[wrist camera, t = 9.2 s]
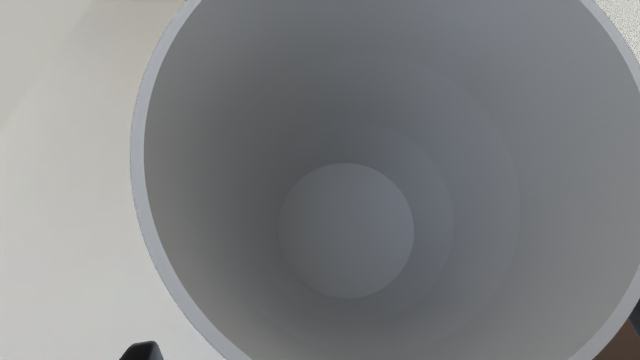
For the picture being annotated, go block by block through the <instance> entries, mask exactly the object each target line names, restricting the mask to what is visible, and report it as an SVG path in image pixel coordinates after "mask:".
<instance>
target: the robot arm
mask: <svg viewBox="0 0 640 360" xmlns="http://www.w3.org/2000/svg"><path fill="white" fill-rule="evenodd" d="M628 320H629V321H630V323H631V325H632V326H633V328H634V330H635V332H636V333H637V335H638V337H639V338H640V298H639V300H638V302H637V304H636V306H635V307H634V309H633V311H632V312H631V314H630V315H629V317H628ZM119 360H163V357H162V354H161V352H160V349H159V347H158V345H157V343H156V342H155V341H147V342H141V343H135V344H132V345H131V346H130V347H129V348H128V349H127V350H126V352H125V353H124V354H123V355H122V357H121V358H120V359H119Z"/></svg>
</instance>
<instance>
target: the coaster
mask: <svg viewBox="0 0 640 360" xmlns="http://www.w3.org/2000/svg"><path fill="white" fill-rule="evenodd" d="M592 360H640V338H639V337H638V335H637V333H636V332H635V330H634V328H633V326H632V325H631V323H630V321H629V320H628V318H627V320H626V321H625V323H624V324H623V325H622V327H621V328H620V329H619V331H618V332H617V333H616V335H615V336H614V337H613V338H612V339H611V341H610V342H609V343H608V344H607V345H606V346H605V347H604V348H603V349H602V350H601V351H600V352H599V353H598V354H597V355H596V356H595V357H594V358H593V359H592Z"/></svg>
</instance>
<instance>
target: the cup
mask: <svg viewBox="0 0 640 360" xmlns="http://www.w3.org/2000/svg"><path fill="white" fill-rule="evenodd" d="M130 174H131V184H132V192H133V198H134V204H135V209H136V213H137V218H138V221H139V225H140V229H141V232H142V235H143V238H144V241H145V244H146V246H147V249H148V251H149V254H150V256H151V259H152V261H153V263H154V265H155V268H156V270H157V271H158V273H159V275H160V277H161V279H162V281H163V283H164V285H165V286H166V288H167V290H168V291H169V293H170V295H171V296H172V298H173V299H174V301H175V302H176V304H177V305H178V307H179V308H180V309H181V311H182V312H183V314H184V315H185V316H186V318H187V319H188V320H189V321H190V322H191V324H192V325H193V326H194V327H195V329H196V330H197V331H198V332H199V333H200V334H201V335H202V336H203V337H204V338H205V340H206V341H207V342H209V343H210V344H211V345H212V346H213V347H214V348H215V349H216V350H217V351H218V352H219V353H220V354H221V355H222V356H223V357H224V358H226V359H227V360H592V359H593V358H594V357H595V356H596V355H597V354H598V353H599V352H600V351H601V350H602V349H603V348H604V347H605V346H606V345H607V344H608V343H609V342H610V341H611V339H612V338H613V337H614V336H615V335H616V333H617V332H618V331H619V329H620V328H621V327H622V325H623V324H624V323H625V321H626V320H627V318H628V317H629V315H630V314H631V312H632V311H633V309H634V307H635V306H636V304H637V302H638V300H639V298H640V65H639V63H638V61H637V59H636V57H635V56H634V54H633V52H632V50H631V49H630V47H629V45H628V44H627V42H626V41H625V39H624V38H623V36H622V35H621V33H620V32H619V30H618V29H617V28H616V26H615V25H614V24H613V22H612V21H611V20H610V19H609V17H608V16H607V15H606V14H605V13H604V11H603V10H602V9H601V8H600V7H599V6H598V5H597V3H596V2H595V1H594V0H187V1H186V2H185V3H184V4H183V5H182V7H181V8H180V9H179V11H178V12H177V13H176V15H175V16H174V17H173V19H172V20H171V22H170V23H169V25H168V26H167V28H166V30H165V31H164V33H163V35H162V36H161V38H160V40H159V42H158V43H157V45H156V47H155V50H154V52H153V54H152V56H151V58H150V60H149V63H148V65H147V68H146V70H145V73H144V76H143V79H142V82H141V85H140V88H139V92H138V96H137V99H136V104H135V109H134V114H133V120H132V128H131V138H130Z"/></svg>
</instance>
